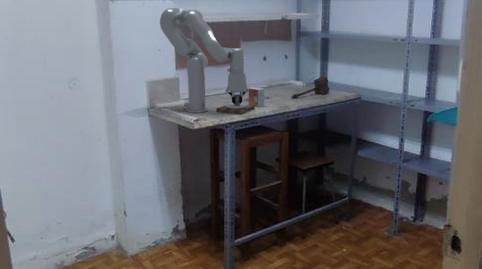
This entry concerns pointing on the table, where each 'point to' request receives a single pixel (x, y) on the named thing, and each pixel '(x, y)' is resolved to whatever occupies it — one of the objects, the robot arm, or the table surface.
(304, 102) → the table surface
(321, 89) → the hammer
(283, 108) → the table surface
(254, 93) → the small box
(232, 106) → the round post pedestal
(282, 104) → the table surface
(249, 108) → the stand base
